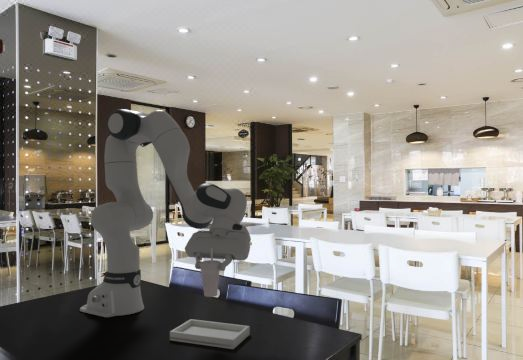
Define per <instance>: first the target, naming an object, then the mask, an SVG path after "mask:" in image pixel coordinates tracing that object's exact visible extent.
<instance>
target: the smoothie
mask: <svg viewBox="0 0 523 360" xmlns="http://www.w3.org/2000/svg"><path fill="white" fill-rule="evenodd" d="M220 263H222V262H221V261H219V260H217V259H215V260H214V259H213V248H211V258H210V260H203V261H202V260H201V262H200V263H199V267H201V269H200V273H201V279H202V289H203V295H204V297H206V298H214V297H217V295H218V289H219V280H220V279H219V277H220V270H219V269H218V266H219V264H220Z"/></svg>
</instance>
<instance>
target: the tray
mask: <svg viewBox="0 0 523 360" xmlns="http://www.w3.org/2000/svg"><path fill="white" fill-rule="evenodd" d="M250 326H251V325H245V324H244V325H242V324H237V323H236V324H234V323H227V322H226V323H225V322H218V321H210V320H200V319H191V318H190V319H188V320H186V321H185V322H184V323H181V325H178V326H177V327H175V328H174V329H171V330H170V331H169V341H173V342H179V343H186V344H187V343H188V344H194V345H202V346H208V347H209V346H210V347H217V348H222V349H229V350H234V349H235V348H237V347H238V346H239V345H240V344H241V343H242V342H243V341H244V340H246V338H248V337H249V336H250V333H251V332H250V331H251V330H250V329H251V328H250Z"/></svg>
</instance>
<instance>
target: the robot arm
mask: <svg viewBox="0 0 523 360" xmlns="http://www.w3.org/2000/svg"><path fill="white" fill-rule="evenodd" d="M106 119H107V120H106V129H107V132H108V133H109V136H107V138H106V140H105V146H104V175H105V176H104V177H105V185H106V188H108V190H109V191H111V192H112V193H113V195H114V197H115V199H116V201H110V202H106V203H103V204H99V205H97V206H95V207H94V209H93V210H92V212H91V216H90V223H91V226H92V228H93V230H95V231H96V232H98V234H99V235H100V236H101V238H102V240H103V243H104V244H105V245H104V246H105V249H106V264H107V266H106V267H107V268H106V271H105V272H103V273H101V276H100V277H101V278H102V277H103V279H102V282H100V283H99V284H98V285H97V286H96V287H94V288H93V289H92V290H91V291H90V292H89V293H88V295H87V301H86V304H84V305H82V306H81V307H80V308H79V311H80V312H82V313H86V314H90V315H95V316H98V317H102V318H103V317H104V318H111V317H118V316H126V315H131V314H135V313H136V314H137V313H139V312H141V311H144V309H145V306H144V302H143V298H142V292H141V279H142V274H141V273H142V270H141V268H140V248H139V246H138V245H137V244H136V243H134V241H133V240H132V236H131V233H130V232H132V231H139V230H141V229H144V228H146V227H148V226H149V225H150V224H152V221H153V218H154V211H153V209H152V207H151V205H149V204H148V203H147V201H146V199H144V196H143V194H142V192H141V189H140V185H139V177H138V167H137V166H138V163H137V149H138V147H139V146H140V147H142V148H144V147H146V146H148V145H150V144H151V145H152V146H153V148H154V149H155V151H156V153H157V154H158V156H159V159H160V160H161V161H160V162H161V163H162V166H163V169H164V171H165V175H166V177H167V179H168V182H169V183H170V186H171V188H172V191H173V193H174V195H175V196H176V198H177V200H178V202H179V204H180V207H181V213H182V214H181V215H182V219H183V221H184V222H185V223H186V224H187V226H189V227H191V228H193V229H198V231H195V232H194V233H192V235H191V236H190V238H189V239H188V241H187V243H186V245H185V246H184V250H185V251H184V252H185V254H186V255H187V256H188V257H189V258H195V264H194V268H195V269H196V270H201V267H199V263H200V262H202V260H203V259H211V248H213V260H214V259H215V260H223V261H222V262H221V263H220V264H219V266H218V269H219V270H220V271H221V272H225V271H226V267H228V266H229V265H230V264H231V263H232V262H233V261H246V260H247V259H248V257H249V255H250V250H251V244H250V243H251V240H252V239H251V238H252V237H251V234H250V232H249V230H248V228H247V226H246V225H243V224H241V223H242V221H243V220H244V217H245V213H246V210H247V206H248V204H247V203H248V201H247V197H246V195H245V193H244V192H243V191H242V190H240V189H237V188H232V187H231V188H222V187H219V186H218V185H216V184H214V183H210V182H206V183H205V182H204V183H202V184H200V185H199V186H198V187H197V188H196V190H194V188H193V186H192V184H191V182H190V180H189V176H188V162H189V158H190V153H191V147H190V143H189V140H188V138H187V136H186V134H185V132H183V130H182V128H181V127H180V125H179V123H177V121H176V120H175V119H174V118H173V117H172V116H171V115H170V114H169V113H168V112H167V111H165V110H162V109H161V110H160V109H157V110H153V111H151V112H150V113H146V112H143V111H140V110H131V109H130V110H129V109H127V108H126V109H125V108H124V109H123V108H121V109H119V108H118V109H115V110H113V111H112V112H110V113H109V115H108V116H107V118H106ZM210 224H211V225H210ZM209 226H210V227H209ZM207 227H209V230H202V229H206V228H207ZM220 271H219V272H220Z"/></svg>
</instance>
